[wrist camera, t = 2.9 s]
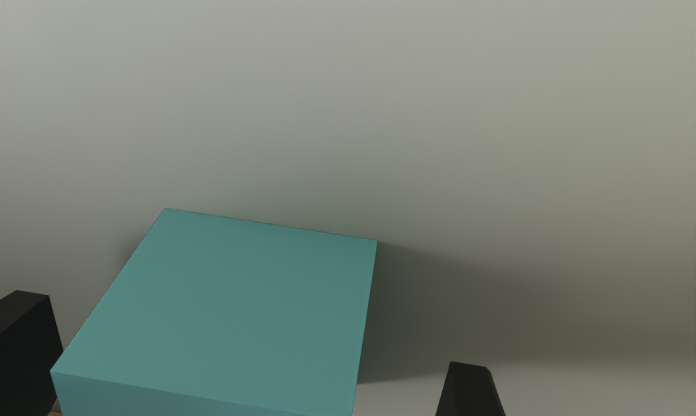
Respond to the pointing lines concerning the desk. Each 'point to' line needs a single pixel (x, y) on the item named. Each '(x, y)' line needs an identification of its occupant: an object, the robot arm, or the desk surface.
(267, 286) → the teal block
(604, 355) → the desk surface
